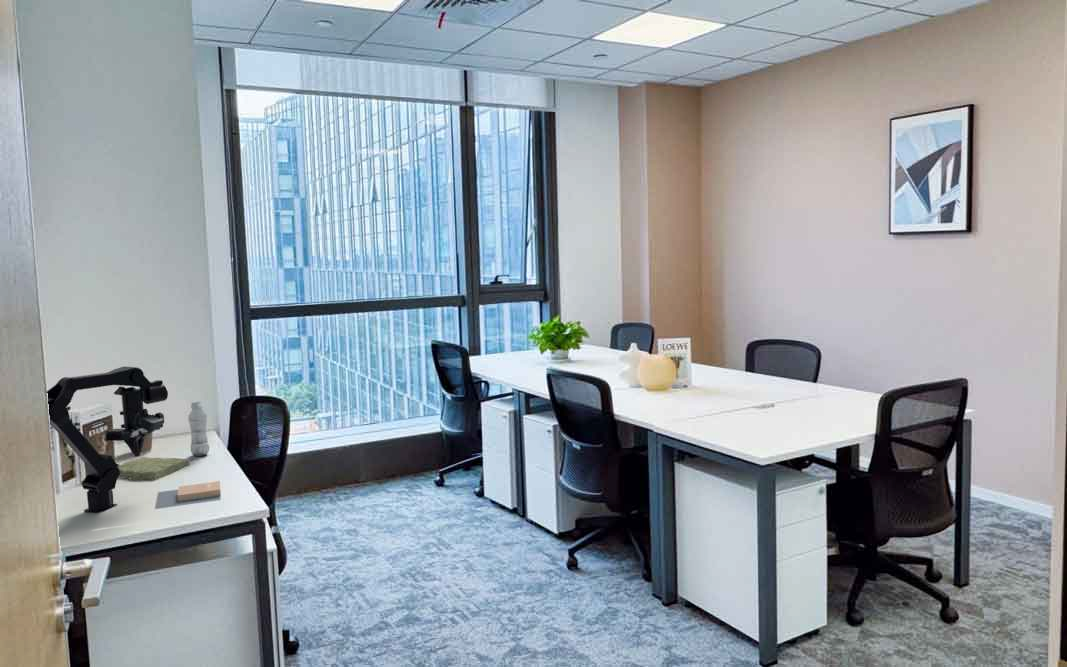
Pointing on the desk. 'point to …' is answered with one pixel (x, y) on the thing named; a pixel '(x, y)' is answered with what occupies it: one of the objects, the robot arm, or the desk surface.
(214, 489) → the tile
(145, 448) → the coffee cup
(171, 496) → the mat
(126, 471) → the decorative tile
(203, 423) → the plastic bottle
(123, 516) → the desk surface
